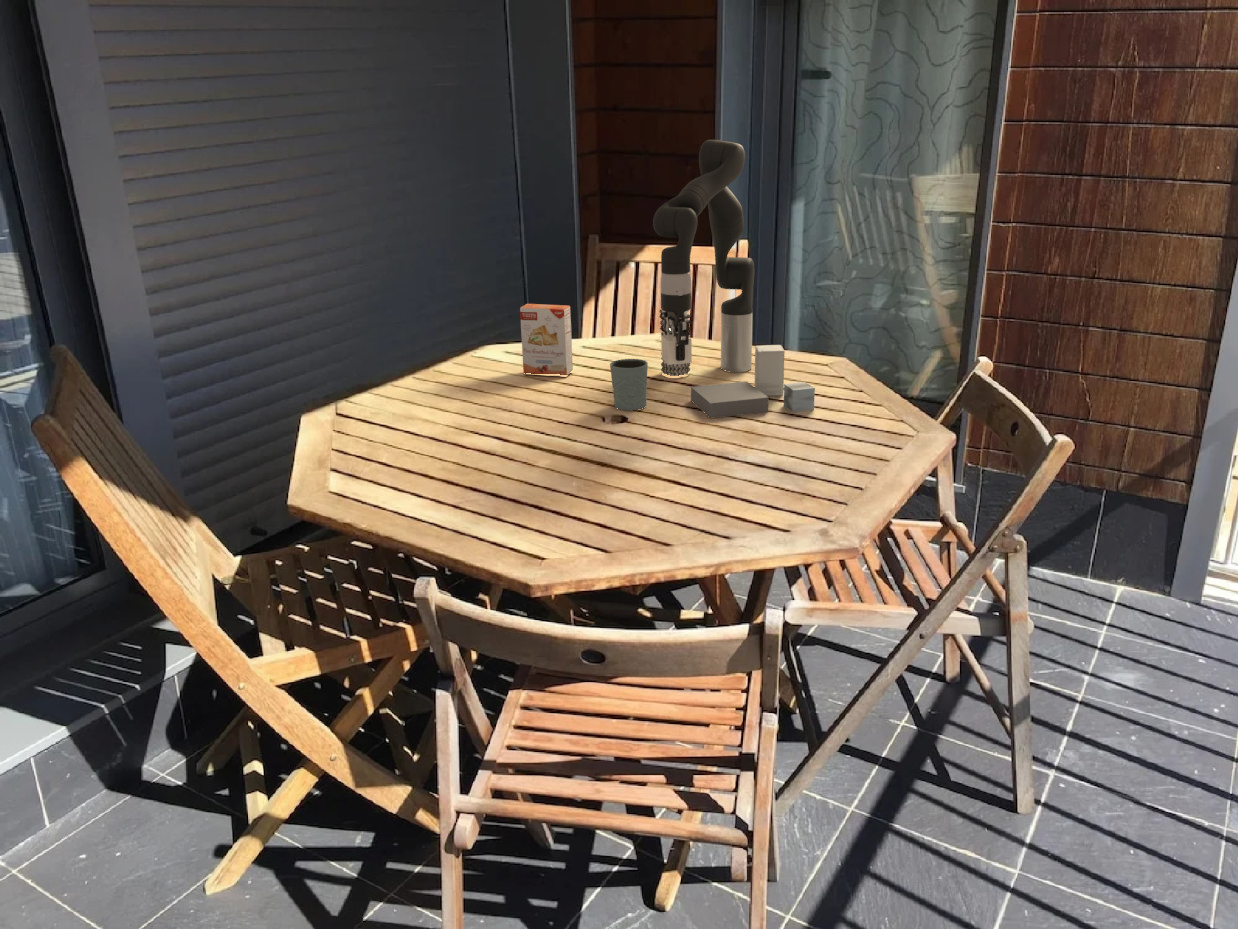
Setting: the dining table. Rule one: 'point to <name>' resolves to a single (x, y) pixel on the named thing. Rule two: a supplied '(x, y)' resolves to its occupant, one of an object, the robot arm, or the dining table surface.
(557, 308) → the cracker box
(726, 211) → the robot arm
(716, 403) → the plinth
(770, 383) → the supplement box
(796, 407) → the grey cube
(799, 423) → the dining table surface
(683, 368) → the decorative candle
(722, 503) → the dining table surface
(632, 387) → the green cup
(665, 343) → the white cube
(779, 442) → the dining table surface
